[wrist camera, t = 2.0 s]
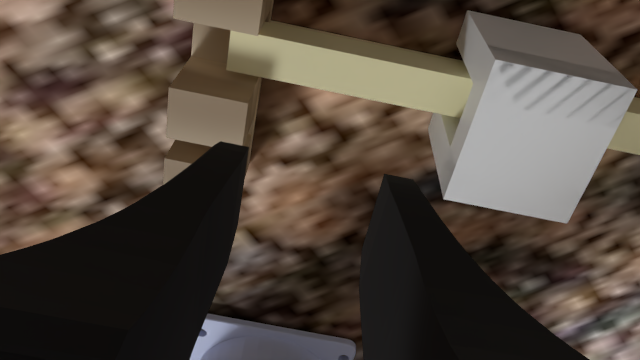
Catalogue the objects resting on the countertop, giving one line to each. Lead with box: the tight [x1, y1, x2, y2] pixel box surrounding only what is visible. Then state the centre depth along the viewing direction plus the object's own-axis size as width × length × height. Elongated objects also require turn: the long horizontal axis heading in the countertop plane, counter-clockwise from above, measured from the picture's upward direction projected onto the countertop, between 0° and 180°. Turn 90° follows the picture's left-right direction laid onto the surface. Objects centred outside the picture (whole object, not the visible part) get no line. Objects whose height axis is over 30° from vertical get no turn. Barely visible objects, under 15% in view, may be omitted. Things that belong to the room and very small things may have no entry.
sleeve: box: [428, 10, 638, 224], centre depth 19 cm, size 5×4×5 cm
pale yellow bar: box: [226, 20, 640, 155], centre depth 20 cm, size 1×23×2 cm, turn 78°
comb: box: [163, 0, 274, 185], centre depth 19 cm, size 11×2×4 cm, turn 169°
